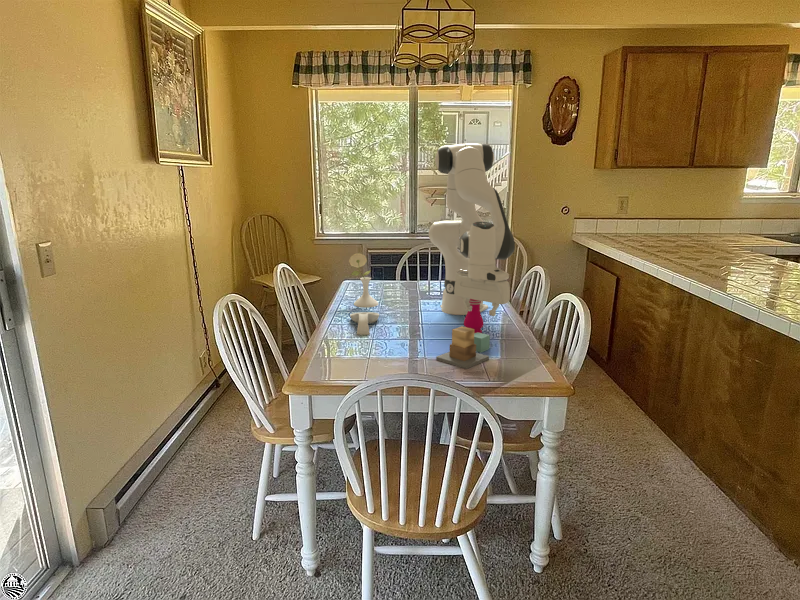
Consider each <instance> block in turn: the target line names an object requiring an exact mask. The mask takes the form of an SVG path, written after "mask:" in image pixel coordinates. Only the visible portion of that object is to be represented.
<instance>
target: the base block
mask: <svg viewBox="0 0 800 600" xmlns="http://www.w3.org/2000/svg"><path fill="white" fill-rule="evenodd" d="M449 352H450V353H449V357H453V358H456V359H459V360H463V361H466V360H468V359H471V358H473V357H475V356H476V353H477V351H476V344H474V345H471V346H469V347H466V348H463V347H459V346H455V345H452V343H450V344H449Z"/></svg>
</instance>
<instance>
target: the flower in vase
mask: <svg viewBox="0 0 800 600" xmlns="http://www.w3.org/2000/svg"><path fill="white" fill-rule="evenodd" d="M367 262H368V260H367V257H366V255H365V254H363V253H359V252H358V253H354V254H352V255H351V256H350V257H349V259H348V263H349V264H350V266H351V267H355V268H358V270H353V271H352V272H351V273H350V275H352V276H357V277H358V276H359V275H360V276H362V277H360V278H359V279H360V282H361V283H362V290H363V291H362V295H361V296H360V297H359V298H357V299H356V300H355V301H354V303H353V305H354V306H355V307H358V308H374V307H377V306H379V302H378V300H376V299H374V297H372V296H371V295H370V293H369V284H370V281H372V277H367V276H368V275H369V274H370V273H371V271H372V270H371V269H369V270H367V271H366V272H364V273H363V274H362V272H361V269H360V268H361V267H363V266H365V264H366V263H367ZM365 276H366V277H365Z"/></svg>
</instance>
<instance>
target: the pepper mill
mask: <svg viewBox="0 0 800 600" xmlns="http://www.w3.org/2000/svg"><path fill="white" fill-rule="evenodd" d="M469 303H470V305H471V306H472V311H468V313H467V315H465V317H464V319H463V327H467V328H471V329H474V333H477V332H479V333H483V331H482V330H483V329H482V328H483V327H484V320H483V316H482V314H481V313H482V312H480V304H481V301H480V300H474V299H470V300H469Z"/></svg>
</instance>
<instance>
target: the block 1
mask: <svg viewBox="0 0 800 600" xmlns="http://www.w3.org/2000/svg"><path fill="white" fill-rule="evenodd" d="M451 331H452V332H451V344H452V345H455V346H459V347H463V348H466V347H469V346H471V345H474V329H471V328H467V327H465V326H464V325H462V326H458V327H456V328H452V329H451Z"/></svg>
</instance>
